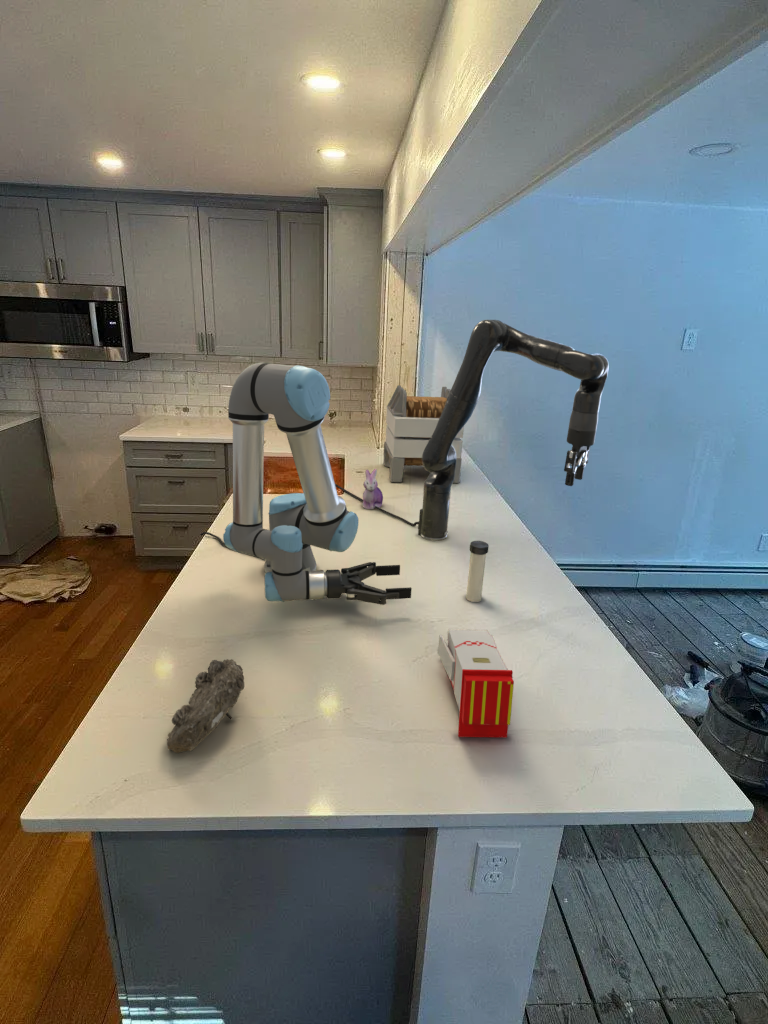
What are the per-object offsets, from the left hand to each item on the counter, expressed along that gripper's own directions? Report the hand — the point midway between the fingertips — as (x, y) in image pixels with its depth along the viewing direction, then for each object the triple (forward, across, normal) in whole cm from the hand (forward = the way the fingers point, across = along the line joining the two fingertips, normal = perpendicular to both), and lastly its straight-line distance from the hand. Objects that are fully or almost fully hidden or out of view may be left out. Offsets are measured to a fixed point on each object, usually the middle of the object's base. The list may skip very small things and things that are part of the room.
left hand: (405, 580), depth 151 cm
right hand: (+52, -13, +23) cm, 58 cm away
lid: (+20, 0, +10) cm, 22 cm away
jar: (+20, 0, -6) cm, 21 cm away
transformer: (+36, -125, -6) cm, 130 cm away
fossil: (-46, +40, -7) cm, 61 cm away
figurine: (+5, -78, -6) cm, 79 cm away
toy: (+5, +39, -7) cm, 40 cm away
